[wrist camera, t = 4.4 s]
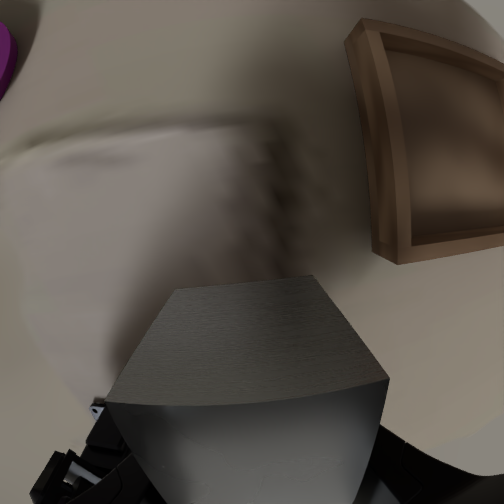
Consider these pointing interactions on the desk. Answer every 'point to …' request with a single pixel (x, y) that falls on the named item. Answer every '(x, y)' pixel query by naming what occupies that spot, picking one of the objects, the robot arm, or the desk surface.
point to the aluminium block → (251, 397)
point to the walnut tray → (429, 141)
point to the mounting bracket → (6, 57)
